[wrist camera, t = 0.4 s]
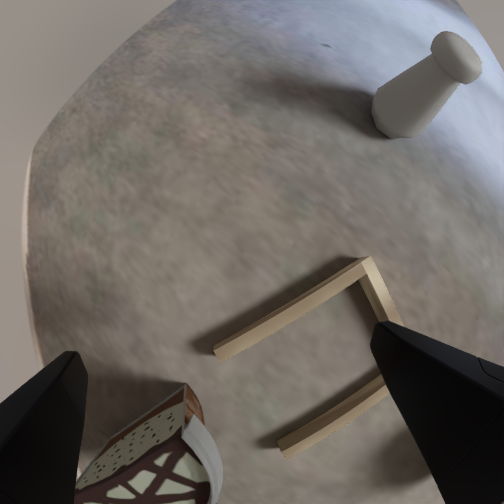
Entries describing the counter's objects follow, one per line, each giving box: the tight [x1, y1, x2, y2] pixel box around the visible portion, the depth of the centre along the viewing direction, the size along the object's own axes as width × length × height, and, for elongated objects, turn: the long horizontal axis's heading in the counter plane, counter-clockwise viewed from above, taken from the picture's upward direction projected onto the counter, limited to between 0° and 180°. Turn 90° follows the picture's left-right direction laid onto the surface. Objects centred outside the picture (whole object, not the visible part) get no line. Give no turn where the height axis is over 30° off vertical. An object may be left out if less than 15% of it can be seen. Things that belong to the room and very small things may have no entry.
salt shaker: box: [371, 31, 482, 139], centre depth 20 cm, size 6×6×13 cm
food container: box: [74, 383, 223, 504], centre depth 16 cm, size 12×6×10 cm, turn 129°
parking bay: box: [213, 256, 404, 459], centre depth 22 cm, size 11×14×2 cm
